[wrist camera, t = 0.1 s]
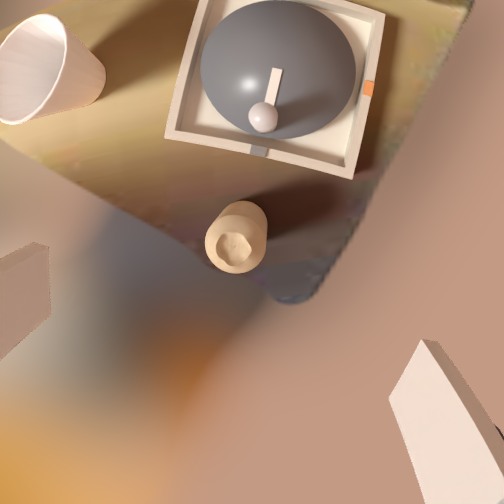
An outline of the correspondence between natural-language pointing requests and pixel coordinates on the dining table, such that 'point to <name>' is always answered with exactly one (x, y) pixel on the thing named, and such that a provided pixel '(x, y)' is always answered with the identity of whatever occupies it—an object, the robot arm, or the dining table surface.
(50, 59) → the cup
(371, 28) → the dial plate
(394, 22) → the dining table surface
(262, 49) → the dial
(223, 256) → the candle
